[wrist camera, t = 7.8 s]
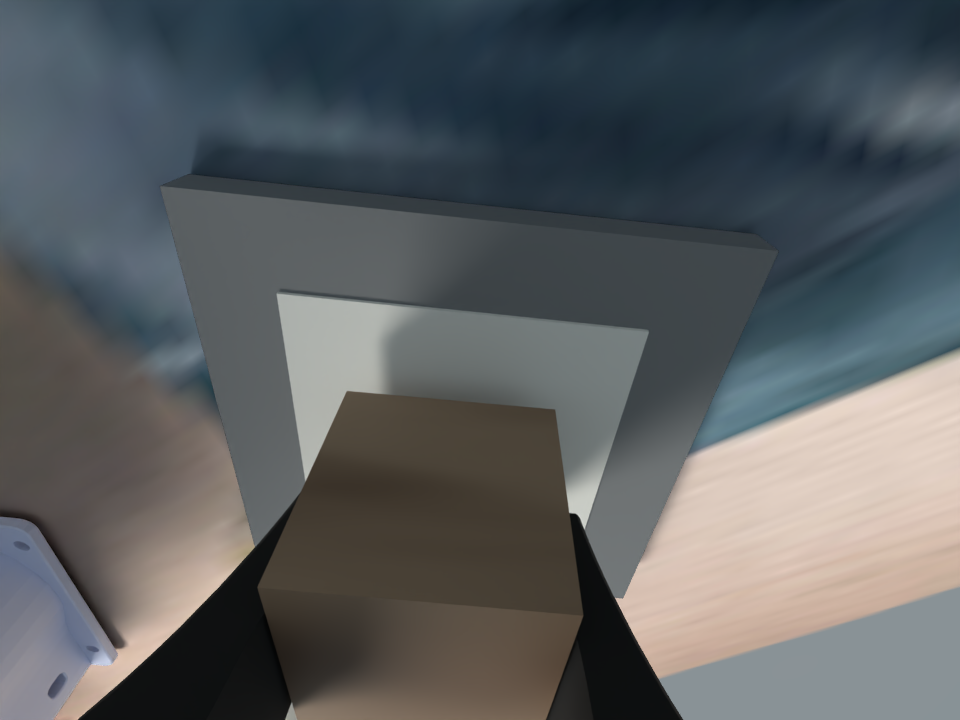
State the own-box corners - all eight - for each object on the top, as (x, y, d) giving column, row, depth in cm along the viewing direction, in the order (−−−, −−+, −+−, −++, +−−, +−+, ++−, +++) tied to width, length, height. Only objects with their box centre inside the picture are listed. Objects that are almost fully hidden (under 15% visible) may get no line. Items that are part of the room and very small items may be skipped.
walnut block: (527, 540, 13) (536, 745, 9) (359, 525, 13) (298, 725, 9) (555, 409, 10) (582, 615, 7) (346, 390, 10) (256, 588, 7)
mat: (617, 570, 17) (623, 601, 16) (271, 537, 17) (258, 565, 16) (757, 234, 10) (781, 252, 9) (188, 174, 10) (156, 187, 9)
